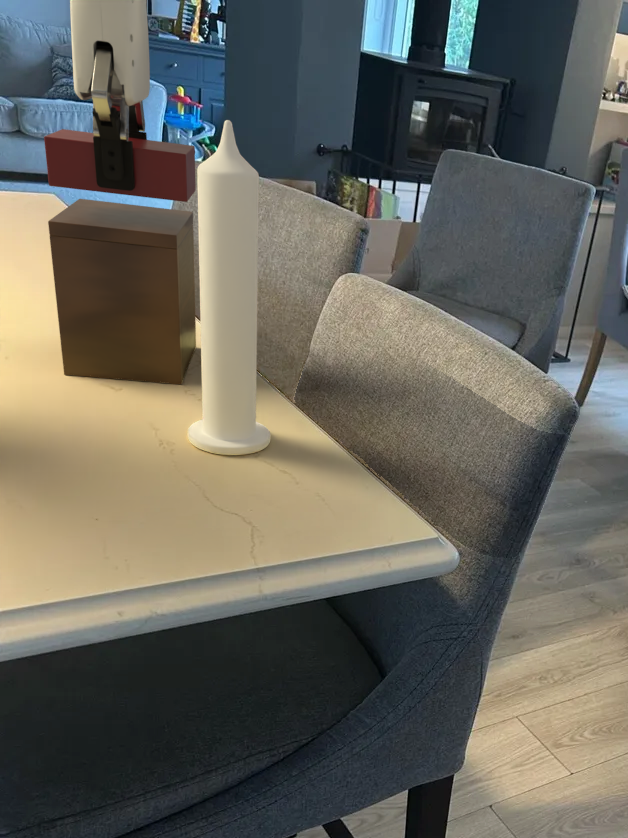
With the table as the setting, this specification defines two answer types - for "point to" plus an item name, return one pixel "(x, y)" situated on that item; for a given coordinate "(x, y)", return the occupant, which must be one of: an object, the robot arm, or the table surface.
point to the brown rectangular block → (124, 290)
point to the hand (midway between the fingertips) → (123, 180)
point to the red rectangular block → (153, 166)
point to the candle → (228, 302)
